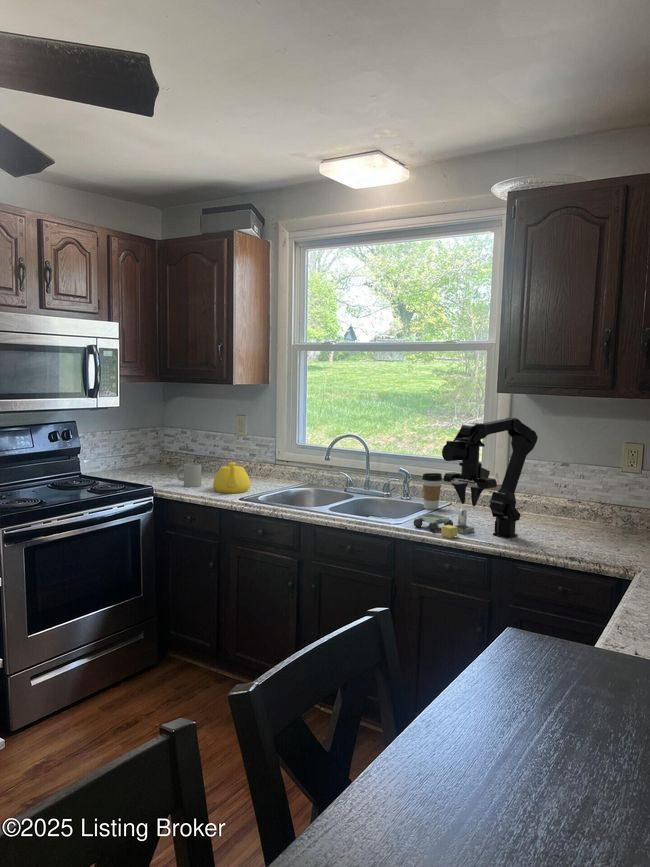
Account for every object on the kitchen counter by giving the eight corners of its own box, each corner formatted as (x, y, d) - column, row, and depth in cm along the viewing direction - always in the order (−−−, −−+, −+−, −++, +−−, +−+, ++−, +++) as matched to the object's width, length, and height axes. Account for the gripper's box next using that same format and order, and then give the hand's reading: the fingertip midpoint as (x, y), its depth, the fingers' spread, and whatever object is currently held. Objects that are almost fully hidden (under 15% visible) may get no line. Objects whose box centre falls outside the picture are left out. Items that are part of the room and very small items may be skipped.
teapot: (251, 495, 292) (251, 466, 291) (212, 496, 290) (212, 466, 288) (249, 486, 317) (249, 459, 316) (213, 486, 314) (213, 459, 313)
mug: (202, 484, 319) (202, 463, 318) (199, 487, 310) (199, 465, 309) (178, 484, 318) (178, 462, 317) (175, 487, 310) (175, 465, 309)
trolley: (453, 528, 235) (453, 517, 235) (435, 532, 229) (435, 520, 229) (431, 523, 244) (431, 512, 243) (413, 526, 238) (413, 515, 237)
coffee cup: (440, 510, 268) (442, 475, 267) (420, 509, 270) (421, 474, 268) (441, 506, 276) (442, 472, 275) (421, 505, 278) (422, 471, 277)
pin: (467, 531, 232) (468, 510, 231) (462, 532, 230) (463, 510, 229) (461, 529, 234) (462, 508, 233) (456, 530, 232) (456, 509, 232)
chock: (457, 536, 224) (457, 527, 224) (449, 538, 222) (450, 528, 222) (448, 534, 227) (448, 524, 227) (441, 535, 225) (441, 526, 225)
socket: (474, 531, 232) (474, 527, 231) (463, 534, 228) (463, 529, 228) (460, 528, 236) (460, 524, 236) (449, 530, 233) (449, 526, 232)
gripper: (507, 461, 214) (505, 507, 215) (464, 455, 228) (462, 498, 230) (487, 463, 207) (485, 510, 208) (443, 457, 221) (441, 501, 223)
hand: (468, 504), depth 217 cm, fingers open, 4 cm apart
